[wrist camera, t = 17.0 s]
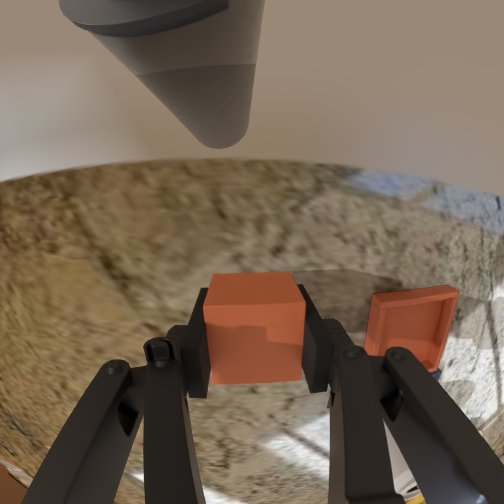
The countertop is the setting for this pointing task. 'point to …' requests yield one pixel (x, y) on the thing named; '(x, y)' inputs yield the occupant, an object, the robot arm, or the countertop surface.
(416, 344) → the terracotta tray
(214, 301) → the block
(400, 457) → the can
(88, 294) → the countertop surface
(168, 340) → the robot arm
